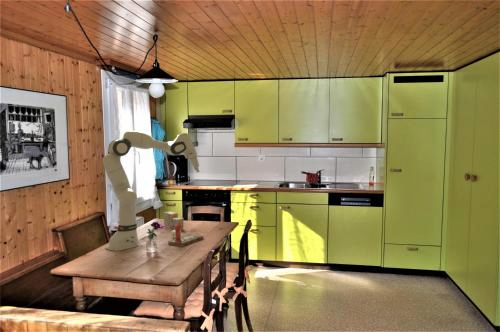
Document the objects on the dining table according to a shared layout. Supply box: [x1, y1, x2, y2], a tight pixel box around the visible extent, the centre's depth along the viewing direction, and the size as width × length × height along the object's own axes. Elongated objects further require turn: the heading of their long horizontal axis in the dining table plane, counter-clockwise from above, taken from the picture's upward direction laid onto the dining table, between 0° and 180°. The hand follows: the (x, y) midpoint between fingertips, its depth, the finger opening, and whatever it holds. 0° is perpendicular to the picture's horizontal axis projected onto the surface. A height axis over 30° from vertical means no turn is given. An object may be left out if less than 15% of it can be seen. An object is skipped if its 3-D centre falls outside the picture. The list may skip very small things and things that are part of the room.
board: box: [167, 233, 204, 247], centre depth 273 cm, size 23×12×2 cm, turn 148°
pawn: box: [174, 225, 181, 242], centre depth 265 cm, size 4×4×11 cm
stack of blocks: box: [163, 211, 184, 231], centre depth 312 cm, size 21×6×12 cm, turn 39°
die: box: [170, 230, 182, 239], centre depth 284 cm, size 5×5×5 cm
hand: (197, 170), depth 290 cm, fingers open, 8 cm apart
